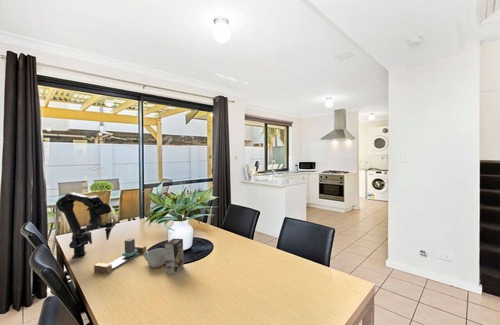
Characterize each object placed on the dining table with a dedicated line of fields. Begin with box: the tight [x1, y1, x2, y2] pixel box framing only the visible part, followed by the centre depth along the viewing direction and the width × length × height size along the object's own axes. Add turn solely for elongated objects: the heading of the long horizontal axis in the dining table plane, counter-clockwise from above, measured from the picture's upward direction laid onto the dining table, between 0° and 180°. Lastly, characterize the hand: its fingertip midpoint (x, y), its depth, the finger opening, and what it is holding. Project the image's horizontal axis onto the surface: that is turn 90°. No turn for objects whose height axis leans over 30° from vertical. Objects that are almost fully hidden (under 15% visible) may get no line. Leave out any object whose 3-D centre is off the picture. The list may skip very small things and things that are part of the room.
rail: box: [93, 244, 147, 275], centre depth 144 cm, size 30×9×4 cm, turn 164°
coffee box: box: [164, 238, 184, 275], centre depth 132 cm, size 9×6×16 cm
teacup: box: [143, 247, 165, 269], centre depth 139 cm, size 14×11×8 cm
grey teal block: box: [121, 238, 137, 257], centre depth 150 cm, size 7×5×9 cm
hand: (99, 241), depth 146 cm, fingers open, 9 cm apart
